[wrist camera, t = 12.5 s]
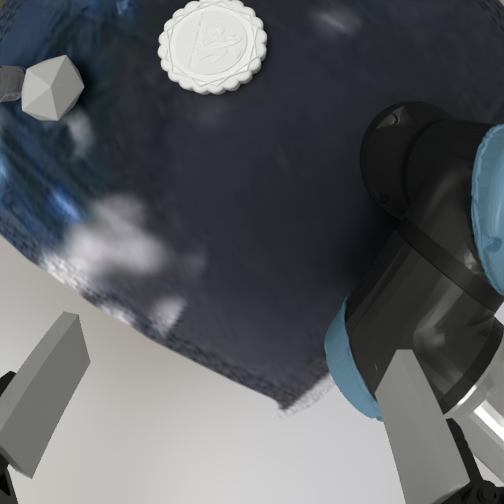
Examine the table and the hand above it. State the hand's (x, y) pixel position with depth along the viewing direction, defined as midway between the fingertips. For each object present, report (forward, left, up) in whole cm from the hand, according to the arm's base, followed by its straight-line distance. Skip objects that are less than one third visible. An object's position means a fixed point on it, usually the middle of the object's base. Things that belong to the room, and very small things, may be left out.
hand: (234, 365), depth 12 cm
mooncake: (+5, -17, -29) cm, 34 cm away
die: (+25, -15, -29) cm, 41 cm away
